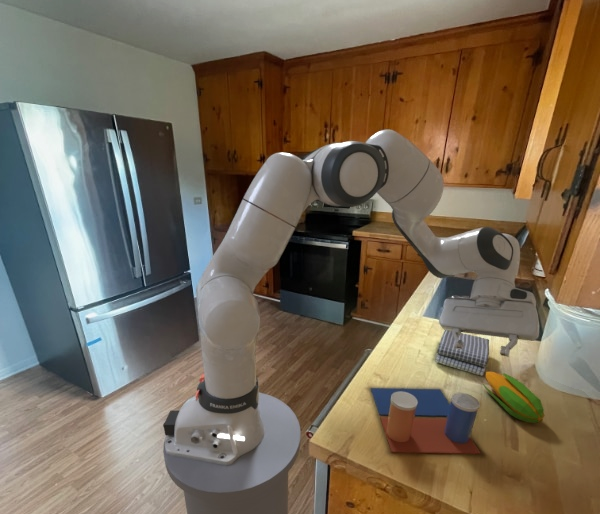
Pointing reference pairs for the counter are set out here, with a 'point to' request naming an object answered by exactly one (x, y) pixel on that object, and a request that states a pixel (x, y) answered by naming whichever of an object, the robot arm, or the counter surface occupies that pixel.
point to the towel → (464, 353)
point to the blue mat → (428, 400)
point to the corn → (515, 397)
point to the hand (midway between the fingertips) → (480, 351)
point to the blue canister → (461, 417)
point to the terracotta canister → (401, 416)
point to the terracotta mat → (429, 439)
